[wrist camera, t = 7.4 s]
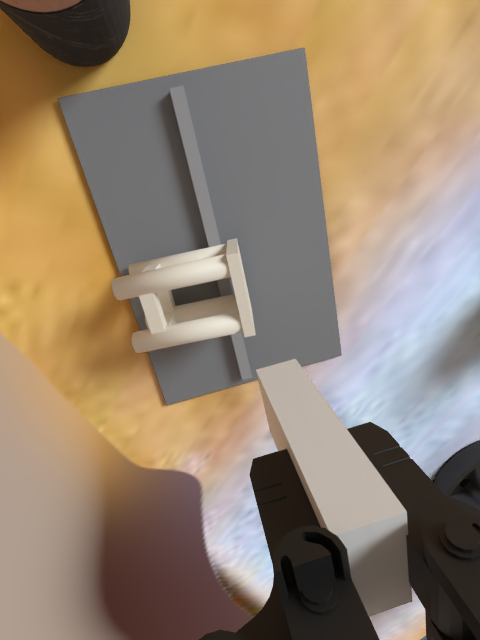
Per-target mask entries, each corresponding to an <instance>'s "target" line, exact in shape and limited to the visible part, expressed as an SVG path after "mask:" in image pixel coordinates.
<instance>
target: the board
mask: <svg viewBox="0 0 480 640" xmlns="http://www.w3.org/2000/svg"><path fill="white" fill-rule="evenodd" d="M57 99H58V101H59V104H60V107H61V110H62V113H63V115H64V118H65V121H66V124H67V127H68V130H69V132H70V135H71V138H72V141H73V144H74V146H75V149H76V152H77V155H78V158H79V160H80V163H81V166H82V169H83V172H84V174H85V177H86V180H87V183H88V186H89V188H90V191H91V194H92V197H93V200H94V202H95V205H96V208H97V211H98V214H99V216H100V219H101V222H102V225H103V228H104V230H105V233H106V236H107V239H108V242H109V244H110V247H111V250H112V253H113V256H114V258H115V261H116V264H117V267H118V270H119V272H120V275H121V277H122V276H126V275H129V265H130V264H134V263H139V262H143V261H148V260H153V259H157V258H162V257H166V256H171V255H176V254H180V253H185V252H190V251H194V250H199V249H203V248H208V247H213V246H217V245H222V244H226V243H227V240H231V239H236V238H237V241H238V246H239V251H240V255H241V260H242V265H243V270H244V274H245V279H246V284H247V289H248V293H249V298H250V303H251V308H252V314H253V321H254V327H255V334H256V335H254V336H249V337H244V332H242V333H237V334H232V335H227V336H222V337H217V338H212V339H207V340H202V341H197V342H192V343H187V344H182V345H177V346H172V347H167V348H162V349H157V350H152V351H148V354H149V357H150V359H151V362H152V365H153V368H154V371H155V373H156V376H157V379H158V382H159V385H160V387H161V390H162V393H163V396H164V399H165V401H166V404H167V405H170V404H173V403H177V402H180V401H184V400H187V399H191V398H194V397H198V396H201V395H205V394H208V393H212V392H215V391H219V390H222V389H226V388H229V387H233V386H236V385H240V384H243V383H247V382H250V381H254V380H257V379H258V377H257V372H256V370H257V369H261V368H264V367H268V366H271V365H275V364H278V363H282V362H285V361H289V360H292V359H296V360H297V361H298V363H299V364H300V365H301V367H302V366H306V365H309V364H313V363H316V362H320V361H323V360H327V359H330V358H334V357H337V356H341V346H340V338H339V329H338V321H337V313H336V304H335V296H334V288H333V279H332V271H331V263H330V254H329V246H328V238H327V229H326V221H325V213H324V204H323V196H322V188H321V179H320V171H319V163H318V154H317V146H316V137H315V129H314V121H313V112H312V104H311V96H310V87H309V79H308V71H307V62H306V54H305V48H300V49H295V50H290V51H285V52H280V53H276V54H271V55H266V56H261V57H256V58H251V59H246V60H242V61H237V62H232V63H227V64H222V65H217V66H212V67H207V68H203V69H198V70H193V71H188V72H183V73H178V74H173V75H168V76H164V77H159V78H154V79H149V80H144V81H139V82H134V83H130V84H125V85H120V86H115V87H110V88H105V89H100V90H95V91H91V92H86V93H81V94H76V95H71V96H66V97H61V98H57ZM171 292H172V296H173V299H174V302H175V306H178V305H183V304H188V303H193V302H197V301H202V300H207V299H212V298H217V297H221V296H226V295H231V294H235V292H234V288H233V284H232V279H231V277H230V278H225V279H220V280H216V281H211V282H206V283H201V284H197V285H192V286H187V287H183V288H178V289H173V290H171ZM129 300H130V303H131V306H132V309H133V312H134V314H135V317H136V320H137V323H138V326H139V329H140V331H142V330H147V329H148V328H147V325H146V322H145V313H144V310H143V307H142V304H141V301H140V298H139V297H135V298H130V299H129Z"/></svg>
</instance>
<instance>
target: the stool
mask: <svg viewBox="0 0 480 640" xmlns="http://www.w3.org/2000/svg"><path fill="white" fill-rule="evenodd" d="M230 277H231V279H232V284H233V288H234V292H235V294H231V295H226V296H221V297H217V298H212V299H207V300H202V301H197V302H193V303H188V304H183V305H178V306H175V302H174V299H173V296H172V292H171V290H173V289H178V288H183V287H187V286H192V285H197V284H201V283H206V282H211V281H216V280H220V279H225V278H230ZM111 286H112V291H113V294H114V296H115V298H116V299H117V300H118V301H121V300H126V299H130V298H135V297H139V298H140V301H141V304H142V307H143V310H144V313H145V322H146V325H147V328H148V329H147V330H142V331H137V332H133V333H132V337H131V340H132V346H133V349H134V351H135V352H136V353H142V352H147V351H152V350H157V349H162V348H167V347H172V346H177V345H182V344H187V343H192V342H197V341H202V340H207V339H212V338H217V337H222V336H227V335H232V334H237V333H242V332H244V337H249V336H254V335H256V334H255V327H254V321H253V314H252V308H251V303H250V298H249V293H248V289H247V284H246V279H245V274H244V270H243V265H242V260H241V255H240V251H239V246H238V241H237V238H236V239H231V240H227V243H226V244H222V245H217V246H213V247H208V248H203V249H199V250H194V251H190V252H185V253H180V254H176V255H171V256H166V257H162V258H157V259H153V260H148V261H143V262H139V263H134V264H130V265H129V275H126V276H122V277H117V278H113V279H112V282H111Z"/></svg>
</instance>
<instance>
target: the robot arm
mask: <svg viewBox="0 0 480 640" xmlns="http://www.w3.org/2000/svg"><path fill="white" fill-rule="evenodd" d="M256 372H257V377H258V381H259V385H260V390H261V394H262V398H263V402H264V407H265V411H266V415H267V420H268V424H269V428H270V432H271V434H272V437H273V439H274V442H275V444H276V447H277V449H278V452H274V453H271V454H268V455H264V456H261V457H258V458H255V459H253V462H252V466H251V471H250V478H251V482H252V486H253V490H254V494H255V498H256V502H257V505H258V509H259V513H260V517H261V521H262V525H263V529H264V532H265V536H266V540H267V544H268V548H269V552H270V556H271V559H272V563H273V570H274V581H273V588H272V591H271V594H270V597H269V599H268V600H267V602H266V604H265V606H264V607H263V609H262V610H261V611H260V612H259V613H258V614H257V615H256V616H255V617H254V618H253V619H252V620H250V621H249V622H248V623H247V624H245V625H244V626H243V627H242V628H241V629H239V630H238V631H237V632H236V633H234V632H229V631H223V630H218V631H215V632H212V633H208V634H206V635H204V636H203V637H202V638H201V639H199V640H379V638H378V636H377V633H376V631H375V629H374V627H373V625H372V623H371V620H370V618H369V616H372V615H375V614H377V613H380V612H383V611H386V610H389V609H392V608H394V607H397V606H400V605H403V604H406V603H409V602H411V601H412V592H411V586H412V588H413V590H414V591H415V593H416V595H417V596H418V598H419V600H420V601H421V603H422V605H423V606H424V608H425V611H426V636H425V637H423V638H422V639H421V640H480V441H478V442H476V443H474V444H472V445H470V446H468V447H466V448H465V449H463V450H462V451H460V452H459V453H457V454H456V455H455V456H454V457H452V458H451V459H450V460H449V461H448V462H447V463H446V464H445V465H444V467H443V468H442V469H441V470H440V472H439V473H438V475H437V476H436V478H435V480H434V482H432V481H431V480H430V479H429V477H428V476H427V475H426V474H425V473H424V472H423V471H422V470H421V468H420V467H419V466H418V465H417V464H416V463H415V462H414V461H413V459H410V457H409V455H408V454H407V453H406V452H405V451H404V449H403V448H402V447H400V446H399V444H398V443H397V442H396V440H395V439H394V438H393V437H392V436H391V435H390V434H389V433H388V431H386V430H384V429H382V428H381V427H379V426H377V425H375V424H373V423H371V422H369V423H365V424H362V425H359V426H356V427H352V428H349V429H346V427H345V426H344V424H343V423H342V422H341V420H340V419H339V418H338V416H337V415H336V413H335V412H334V411H333V409H332V408H331V407H330V405H329V404H328V402H327V401H326V400H325V398H324V397H323V396H322V394H321V393H320V391H319V390H318V389H317V387H316V386H315V385H314V383H313V382H312V380H311V379H310V378H309V376H308V375H307V374H306V372H305V371H304V369H303V368H302V367H301V365H300V364H299V363H298V361H297V360H296V359H292V360H289V361H285V362H282V363H278V364H275V365H271V366H268V367H264V368H261V369H257V370H256Z"/></svg>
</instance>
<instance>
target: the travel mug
mask: <svg viewBox="0 0 480 640" xmlns="http://www.w3.org/2000/svg"><path fill="white" fill-rule="evenodd" d="M0 8H1V9H2V10H3V11H4V12H5V13H6V14H7V15H8V16H9V17H10V18H11V19H12V20H13V21H14V22H15V23H16V24H17V25H18V26H19V27H20V28H21V29H22V30H23V31H24V32H25V33H26V34H28V35H29V36H30V37H31V38H32V39H33V40H34V41H35V42H36V43H37V44H38V45H39V46H40V47H41V48H43V49H44V50H45V51H46V52H48V53H49V54H50V55H52V56H53V57H55V58H57V59H58V60H61V61H63V62H65V63H68V64H71V65H75V66H86V67H87V66H95V65H98V64H101V63H103V62H105V61H107V60H109V59H110V58H112V57H113V56H114V55H115V54H116V53H117V52H118V50H119V49H120V48H121V46H122V44H123V43H124V41H125V38H126V36H127V33H128V29H129V24H130V1H129V0H0Z"/></svg>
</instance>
